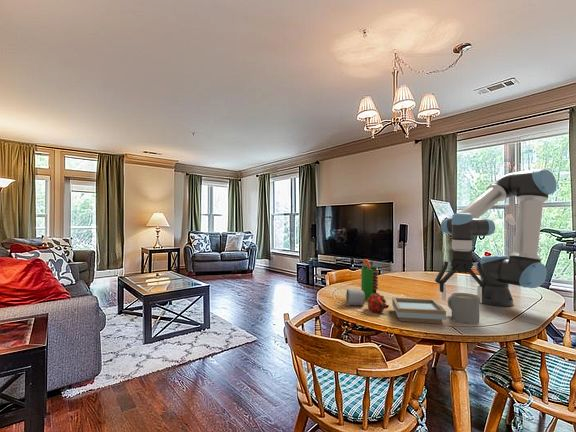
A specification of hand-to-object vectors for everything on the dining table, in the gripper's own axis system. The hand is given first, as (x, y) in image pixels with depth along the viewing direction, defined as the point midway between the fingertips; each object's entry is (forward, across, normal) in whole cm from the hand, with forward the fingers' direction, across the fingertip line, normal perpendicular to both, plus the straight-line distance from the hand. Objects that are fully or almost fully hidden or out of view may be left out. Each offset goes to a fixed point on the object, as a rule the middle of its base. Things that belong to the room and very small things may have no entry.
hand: (461, 301), depth 130 cm
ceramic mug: (+8, +44, -14) cm, 47 cm away
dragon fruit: (+8, +34, -4) cm, 35 cm away
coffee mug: (+7, 0, 0) cm, 7 cm away
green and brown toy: (+8, +36, -28) cm, 46 cm away
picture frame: (+8, +18, +1) cm, 19 cm away
